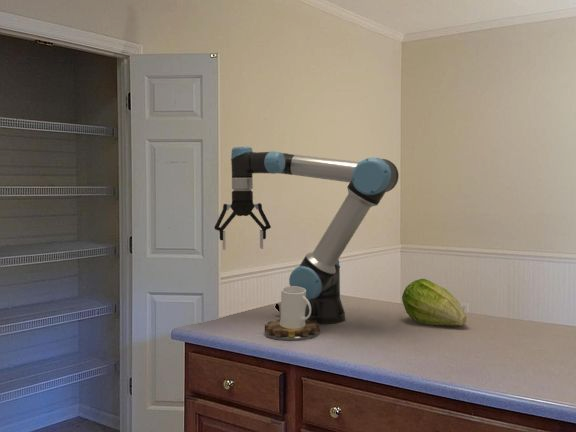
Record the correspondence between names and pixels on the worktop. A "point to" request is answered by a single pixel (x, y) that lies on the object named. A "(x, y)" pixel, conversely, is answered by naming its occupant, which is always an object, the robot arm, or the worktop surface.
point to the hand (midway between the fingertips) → (242, 248)
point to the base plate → (296, 338)
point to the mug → (293, 307)
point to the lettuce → (432, 304)
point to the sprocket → (281, 331)
